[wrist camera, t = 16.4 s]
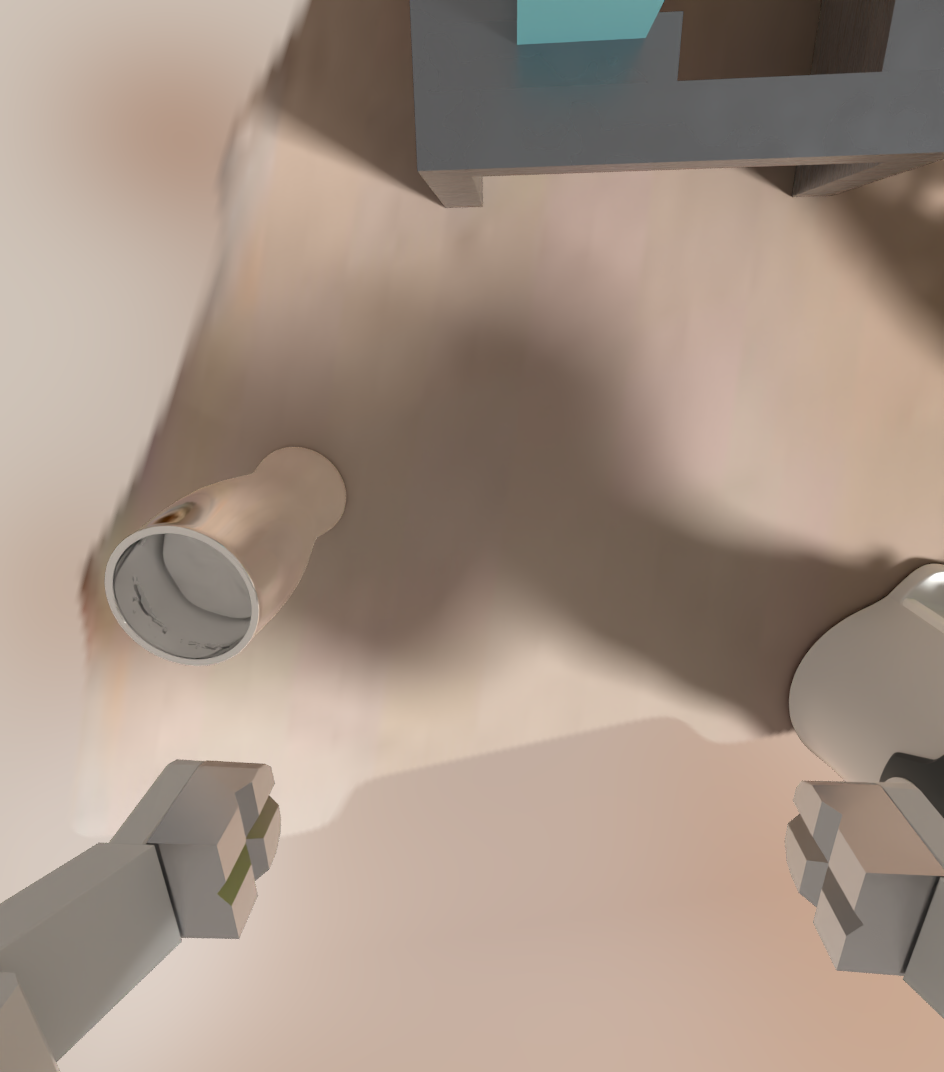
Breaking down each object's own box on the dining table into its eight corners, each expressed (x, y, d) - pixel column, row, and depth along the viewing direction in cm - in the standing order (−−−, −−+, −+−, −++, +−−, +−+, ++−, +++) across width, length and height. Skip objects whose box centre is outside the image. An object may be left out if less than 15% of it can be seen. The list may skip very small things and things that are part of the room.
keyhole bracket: (885, -114, 27) (1085, -335, 17) (831, 195, 31) (967, 151, 22) (436, -85, 28) (396, -274, 19) (445, 207, 32) (417, 171, 23)
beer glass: (233, 513, 40) (82, 628, 26) (268, 419, 37) (120, 491, 23) (330, 559, 41) (233, 695, 27) (370, 470, 38) (287, 569, 24)
